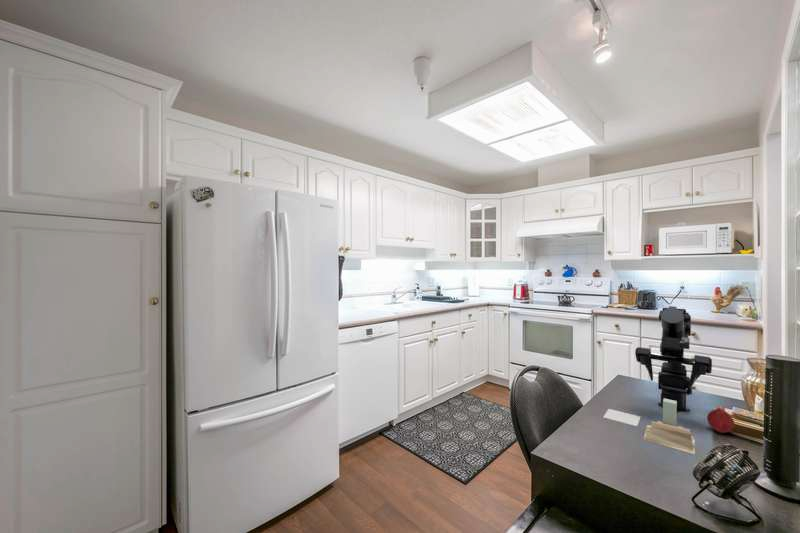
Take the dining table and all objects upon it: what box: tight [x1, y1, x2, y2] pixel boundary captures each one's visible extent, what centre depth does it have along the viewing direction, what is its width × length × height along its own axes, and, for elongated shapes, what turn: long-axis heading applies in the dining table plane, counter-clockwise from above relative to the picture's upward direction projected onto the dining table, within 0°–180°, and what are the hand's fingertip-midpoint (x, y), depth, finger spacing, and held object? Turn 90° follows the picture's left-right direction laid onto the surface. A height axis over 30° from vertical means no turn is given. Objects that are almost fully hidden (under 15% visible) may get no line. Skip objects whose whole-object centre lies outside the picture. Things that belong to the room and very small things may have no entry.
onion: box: [706, 405, 735, 434], centre depth 100 cm, size 6×6×8 cm
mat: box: [603, 408, 641, 427], centre depth 109 cm, size 9×9×1 cm
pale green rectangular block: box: [662, 398, 678, 427], centre depth 97 cm, size 3×3×10 cm
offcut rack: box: [642, 420, 696, 455], centre depth 95 cm, size 12×11×5 cm
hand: (670, 383), depth 103 cm, fingers open, 9 cm apart
